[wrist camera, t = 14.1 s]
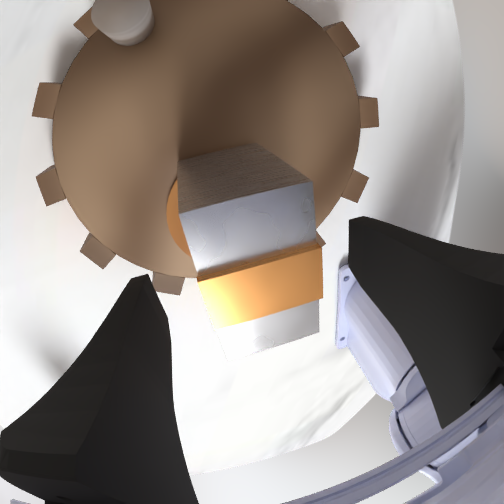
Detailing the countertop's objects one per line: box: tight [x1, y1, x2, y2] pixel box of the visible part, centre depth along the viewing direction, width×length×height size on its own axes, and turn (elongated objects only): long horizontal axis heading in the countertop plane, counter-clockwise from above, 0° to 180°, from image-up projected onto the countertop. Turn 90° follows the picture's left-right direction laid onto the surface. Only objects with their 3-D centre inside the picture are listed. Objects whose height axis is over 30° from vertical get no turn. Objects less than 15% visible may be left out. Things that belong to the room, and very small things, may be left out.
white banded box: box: [177, 143, 323, 360], centre depth 11 cm, size 6×4×6 cm, turn 9°
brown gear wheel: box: [32, 0, 379, 295], centre depth 12 cm, size 17×17×5 cm
